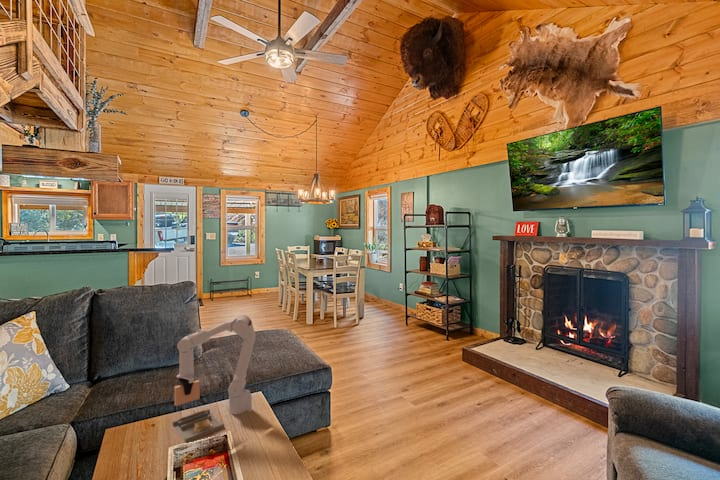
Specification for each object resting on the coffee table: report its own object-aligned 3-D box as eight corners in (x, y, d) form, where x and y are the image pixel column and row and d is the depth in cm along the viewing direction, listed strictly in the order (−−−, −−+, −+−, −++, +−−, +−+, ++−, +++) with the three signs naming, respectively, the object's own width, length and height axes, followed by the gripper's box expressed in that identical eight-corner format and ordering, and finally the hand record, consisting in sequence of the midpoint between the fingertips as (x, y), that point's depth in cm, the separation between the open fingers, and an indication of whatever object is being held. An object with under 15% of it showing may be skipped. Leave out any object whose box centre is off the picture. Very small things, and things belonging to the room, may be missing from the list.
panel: (198, 397, 156) (198, 379, 156) (199, 398, 155) (199, 381, 155) (174, 404, 149) (174, 386, 149) (175, 406, 148) (175, 388, 148)
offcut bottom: (207, 425, 143) (207, 421, 143) (212, 428, 140) (212, 425, 140) (193, 431, 138) (193, 428, 138) (198, 435, 136) (198, 431, 136)
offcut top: (208, 422, 142) (208, 419, 142) (210, 426, 139) (210, 422, 139) (194, 427, 139) (194, 423, 139) (196, 431, 136) (196, 427, 136)
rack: (209, 413, 153) (209, 408, 153) (224, 429, 141) (224, 423, 141) (172, 427, 143) (172, 421, 143) (185, 445, 131) (185, 439, 131)
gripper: (172, 361, 154) (172, 390, 154) (182, 371, 143) (182, 402, 144) (188, 357, 159) (188, 386, 159) (199, 366, 148) (199, 396, 149)
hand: (186, 393), depth 152 cm, fingers closed on panel, 2 cm apart
